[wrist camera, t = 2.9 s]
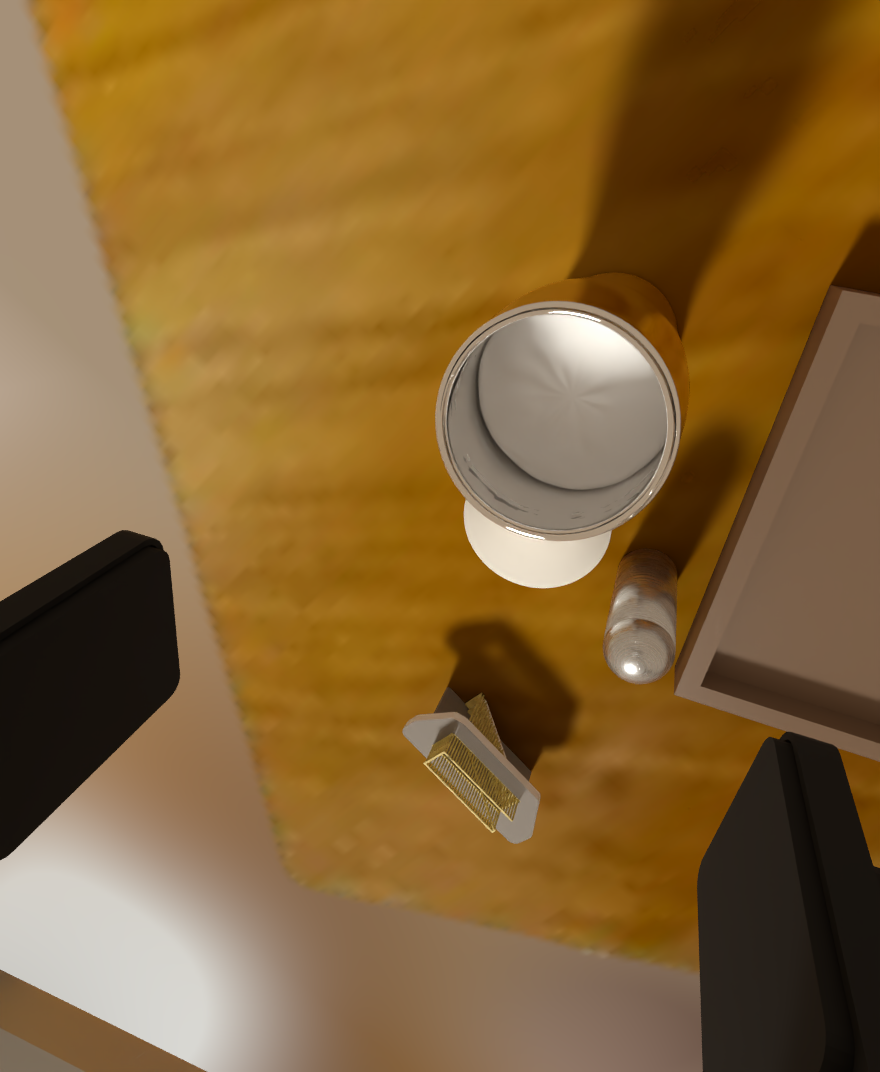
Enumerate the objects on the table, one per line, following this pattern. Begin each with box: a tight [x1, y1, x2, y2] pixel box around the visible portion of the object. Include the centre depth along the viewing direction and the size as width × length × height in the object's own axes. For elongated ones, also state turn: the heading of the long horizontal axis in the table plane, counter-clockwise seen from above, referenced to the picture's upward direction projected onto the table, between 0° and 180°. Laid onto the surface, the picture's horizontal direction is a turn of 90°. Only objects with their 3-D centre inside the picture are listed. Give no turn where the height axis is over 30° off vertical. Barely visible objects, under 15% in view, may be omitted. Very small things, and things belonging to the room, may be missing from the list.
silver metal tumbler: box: [435, 272, 690, 541], centre depth 24 cm, size 7×7×15 cm
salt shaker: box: [603, 549, 677, 684], centre depth 31 cm, size 3×3×8 cm
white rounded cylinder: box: [464, 500, 612, 588], centre depth 32 cm, size 7×7×4 cm
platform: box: [403, 687, 540, 843], centre depth 39 cm, size 12×18×7 cm, turn 46°
